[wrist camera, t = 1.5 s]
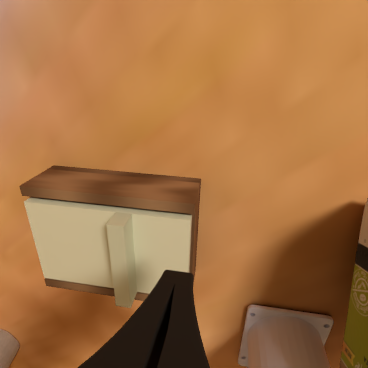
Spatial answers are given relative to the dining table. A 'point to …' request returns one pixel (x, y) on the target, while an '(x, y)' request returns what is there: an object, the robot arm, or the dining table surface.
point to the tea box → (358, 306)
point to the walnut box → (118, 201)
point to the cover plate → (109, 245)
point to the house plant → (7, 348)
